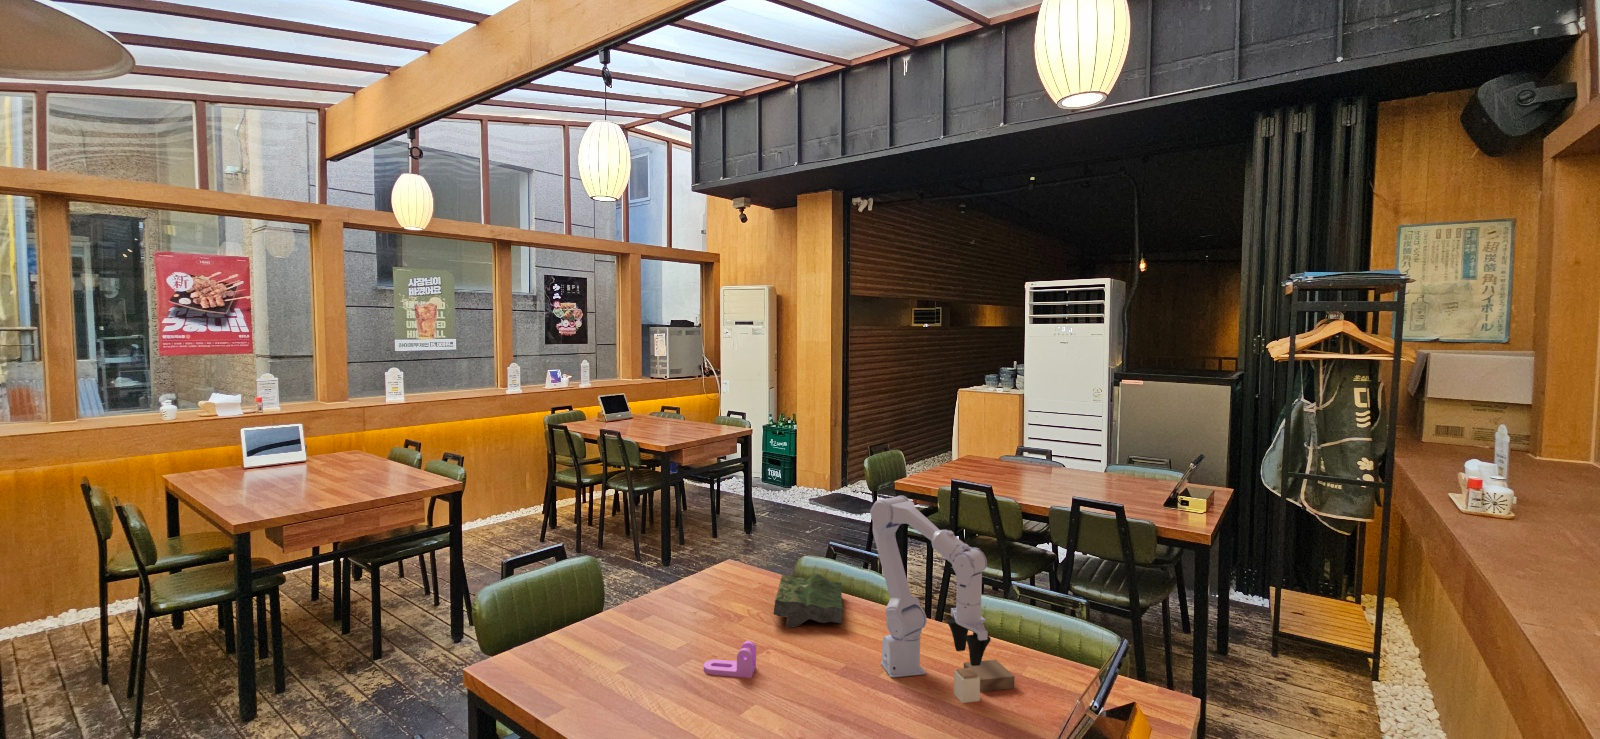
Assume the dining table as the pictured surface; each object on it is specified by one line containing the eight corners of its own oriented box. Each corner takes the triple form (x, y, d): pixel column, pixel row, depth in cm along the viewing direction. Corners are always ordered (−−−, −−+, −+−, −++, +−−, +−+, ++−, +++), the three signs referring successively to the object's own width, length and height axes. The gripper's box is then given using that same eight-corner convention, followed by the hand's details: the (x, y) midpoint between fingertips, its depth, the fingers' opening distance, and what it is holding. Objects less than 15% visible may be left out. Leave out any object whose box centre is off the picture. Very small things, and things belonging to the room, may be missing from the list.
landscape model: (840, 634, 193) (844, 600, 194) (772, 625, 194) (775, 591, 195) (839, 606, 219) (842, 576, 220) (779, 599, 220) (782, 569, 221)
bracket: (755, 668, 169) (756, 641, 169) (751, 678, 164) (751, 650, 163) (707, 663, 171) (707, 637, 171) (700, 674, 165) (701, 646, 165)
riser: (980, 691, 158) (980, 679, 158) (963, 674, 167) (963, 662, 167) (1014, 688, 160) (1014, 676, 160) (995, 671, 169) (995, 659, 169)
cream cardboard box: (962, 703, 153) (962, 677, 153) (953, 693, 157) (954, 668, 157) (979, 701, 154) (979, 675, 154) (970, 691, 158) (971, 666, 158)
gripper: (1000, 611, 149) (998, 670, 150) (969, 589, 163) (968, 643, 164) (971, 613, 148) (970, 673, 148) (943, 591, 162) (942, 645, 162)
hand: (967, 657), depth 156 cm, fingers open, 7 cm apart
